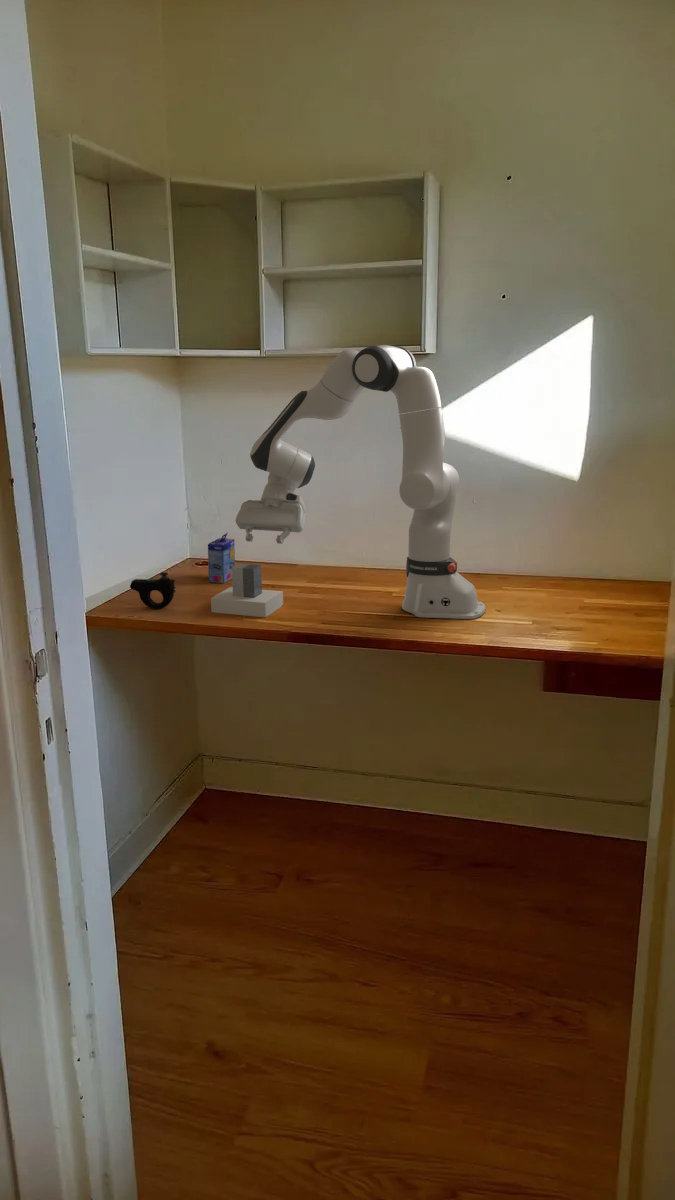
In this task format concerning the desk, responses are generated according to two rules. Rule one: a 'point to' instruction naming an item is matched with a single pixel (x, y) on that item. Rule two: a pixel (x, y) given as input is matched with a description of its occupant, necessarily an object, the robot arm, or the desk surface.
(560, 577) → the desk surface
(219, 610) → the stand
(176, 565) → the desk surface
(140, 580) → the controller
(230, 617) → the desk surface
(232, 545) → the ink cartridge box
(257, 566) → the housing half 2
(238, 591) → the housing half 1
